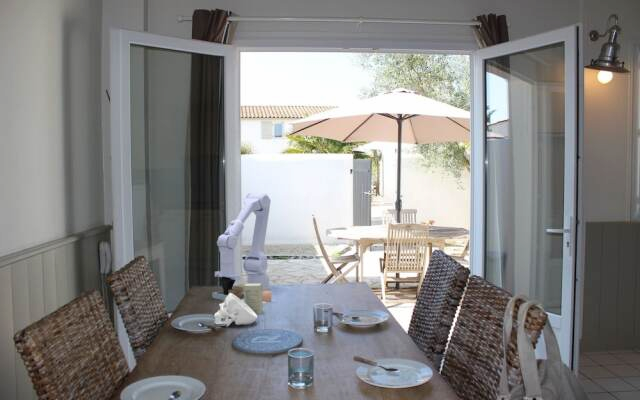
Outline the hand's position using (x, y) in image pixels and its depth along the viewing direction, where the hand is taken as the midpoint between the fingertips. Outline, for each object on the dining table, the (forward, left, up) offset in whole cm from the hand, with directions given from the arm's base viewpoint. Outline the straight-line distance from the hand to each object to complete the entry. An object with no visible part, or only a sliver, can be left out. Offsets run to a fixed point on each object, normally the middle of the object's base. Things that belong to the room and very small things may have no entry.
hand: (227, 295), depth 251 cm
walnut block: (0, +5, -1) cm, 5 cm away
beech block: (-7, 0, -1) cm, 7 cm away
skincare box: (+9, +27, -3) cm, 29 cm away
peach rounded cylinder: (-7, +17, -1) cm, 18 cm away
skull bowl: (+21, +31, -3) cm, 37 cm away
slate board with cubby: (-3, +7, -2) cm, 8 cm away
